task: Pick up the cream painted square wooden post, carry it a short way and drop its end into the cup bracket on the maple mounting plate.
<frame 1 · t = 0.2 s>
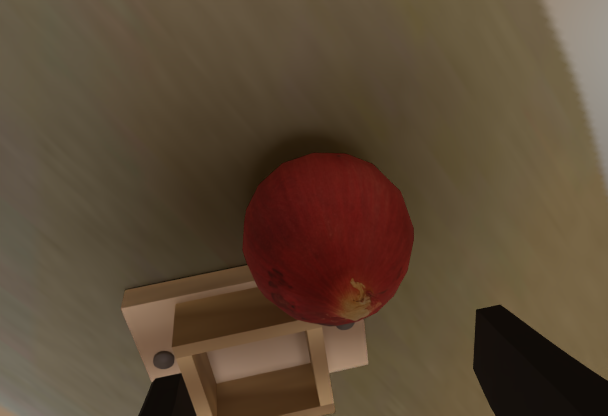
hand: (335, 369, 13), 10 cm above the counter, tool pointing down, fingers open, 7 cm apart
onion: (307, 185, 21), on the counter
bracket: (253, 320, 24), on the counter
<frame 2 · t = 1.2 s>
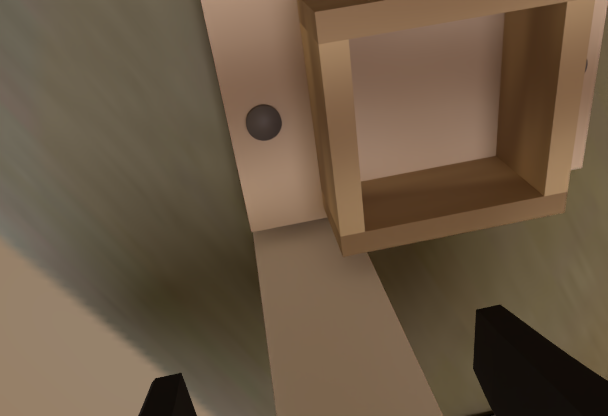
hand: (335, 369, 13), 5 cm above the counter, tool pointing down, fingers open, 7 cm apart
bracket: (403, 80, 15), on the counter
post: (305, 254, 17), on the counter
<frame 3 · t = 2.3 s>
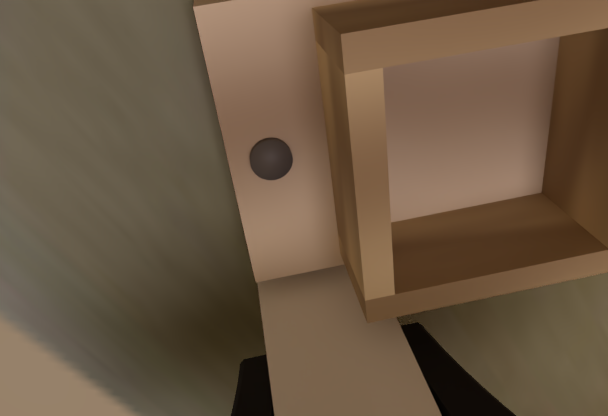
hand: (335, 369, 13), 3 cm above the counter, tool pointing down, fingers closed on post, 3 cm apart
bracket: (434, 105, 12), on the counter
post: (316, 300, 15), on the counter, touching gripper
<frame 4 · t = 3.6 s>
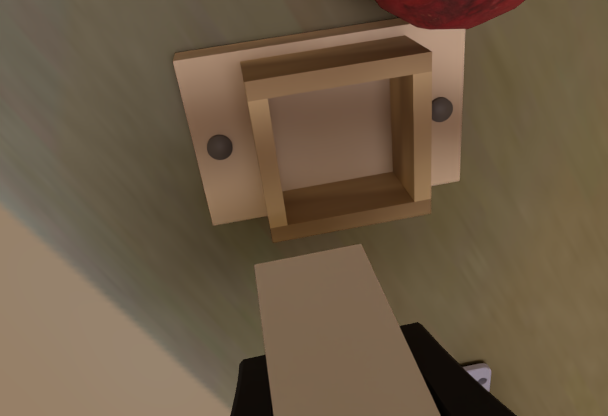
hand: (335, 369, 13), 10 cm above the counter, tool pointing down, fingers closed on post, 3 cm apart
bracket: (325, 116, 20), on the counter
post: (314, 295, 15), point 7 cm above the counter, touching gripper
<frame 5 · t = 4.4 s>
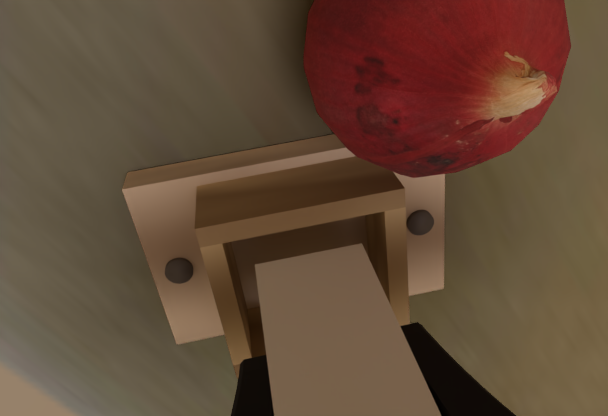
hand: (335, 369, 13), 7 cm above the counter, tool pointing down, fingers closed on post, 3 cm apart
onion: (379, 23, 16), on the counter
bracket: (296, 226, 18), on the counter
post: (315, 295, 15), point 4 cm above the counter, touching gripper
when the fingers open (5 cm above the counter, at t = 5.1 s): post stays where it is, resting on bracket.
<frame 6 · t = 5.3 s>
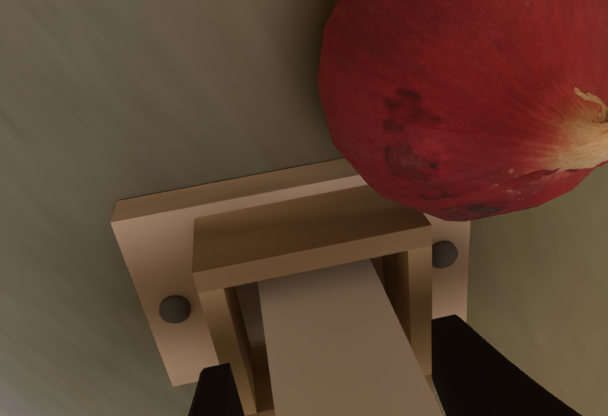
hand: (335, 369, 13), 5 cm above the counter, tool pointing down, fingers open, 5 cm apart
onion: (400, 35, 14), on the counter
bracket: (304, 256, 17), on the counter
post: (311, 279, 16), point 1 cm above the counter, touching bracket
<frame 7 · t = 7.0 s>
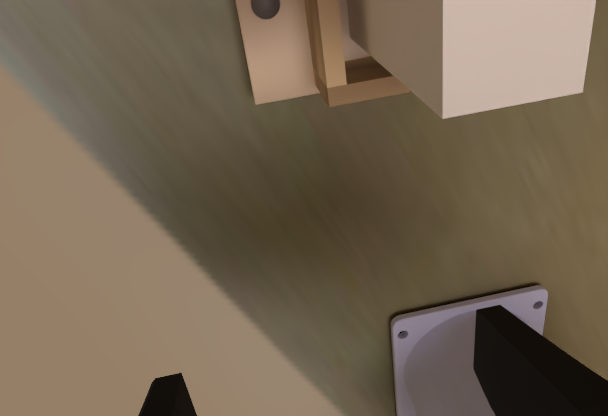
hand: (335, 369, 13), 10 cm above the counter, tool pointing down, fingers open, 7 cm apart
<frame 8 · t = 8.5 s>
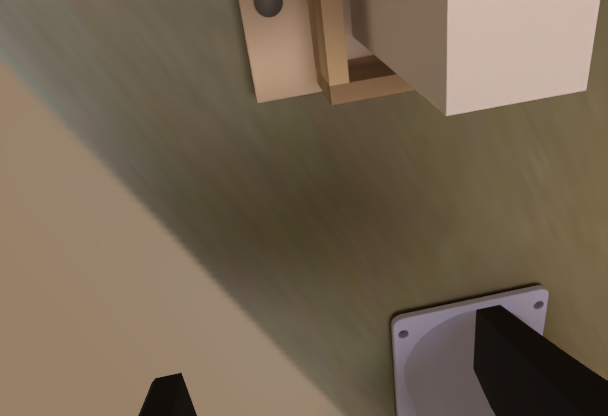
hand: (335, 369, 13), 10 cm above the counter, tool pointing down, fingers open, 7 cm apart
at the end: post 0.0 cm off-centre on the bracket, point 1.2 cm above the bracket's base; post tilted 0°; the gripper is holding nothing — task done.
